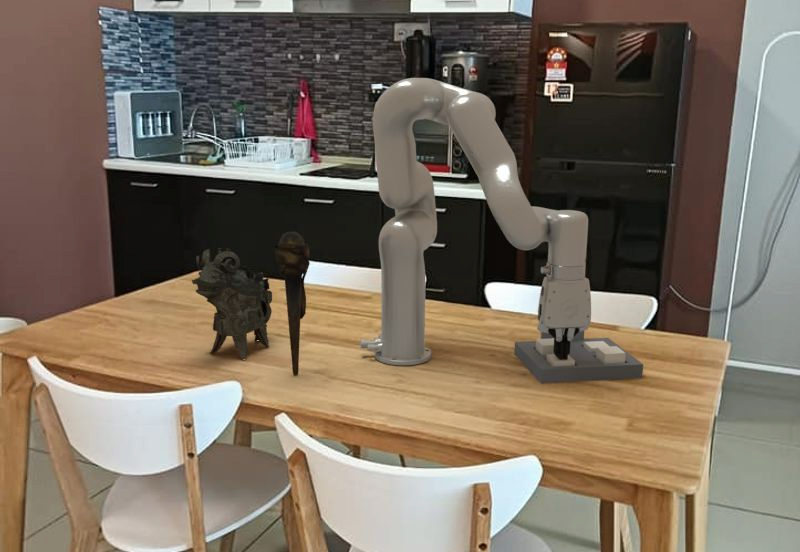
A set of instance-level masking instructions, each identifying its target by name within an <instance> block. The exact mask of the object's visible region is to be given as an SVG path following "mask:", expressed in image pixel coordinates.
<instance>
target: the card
mask: <svg viewBox="0 0 800 552" xmlns="http://www.w3.org/2000/svg"><path fill="white" fill-rule="evenodd" d="M563 331H564V328H563V329H561V332H562V335H563ZM551 338H553V337H552V336H551V335H550V334H549V333H544V332H540V339H551ZM584 339H585V330H584V331H581V332H578V333H577V334H576V335H575V336H574V337H573V340H584Z"/></svg>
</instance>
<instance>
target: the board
mask: <svg viewBox="0 0 800 552" xmlns="http://www.w3.org/2000/svg"><path fill="white" fill-rule="evenodd" d="M593 341H604V342H605V343H606V344H608V345H609V346H617V347H618V348H620V349H621V350H622V351H624V352H625V353H626V355H625V363H616V364H603V363H601V362H600V361H599V360H598V359H597V358H596V353H589V352H588V351H587V350H586V349H585V348H583V345H584V342H593ZM513 349H514V353H513V354H514V356H515V357H516V358H517V360H519V362H520V363H521V364H522V365H523V366H524V367H525V368H526V369H527V370H528V371H529V372H530V373H531V375H533V376H534V377H535V379H536V380H537V381H538V382H539V383H540V384H554V383H571V382H572V383H573V382H574V383H575V382H590V381H591V382H592V381H607V380H608V381H612V380H627V379H628V380H630V379H643V375H644V374H643V373H644V364H643V363H642V362H641V361H639V360H638V359H637V358H636V357H634V355H632V354H631V353H629V352H628V351H627V350H625V349H624V348H622V347H621V346H619V344H617V343H615V341H613V340H612V339H610V338H609V337H594V338H593V337H592V338H591V337H590V338H589V337H588V338H584V340H572V341H570V354H568V355H569V356H570V357H571V358H572V359H574V360H575V366H556V367H552V366H551V365H550V364H549V363H548V362H547V361H546V357H547V355H540V354H539V353H538V352H537V351H536V340H524V341H514V348H513Z"/></svg>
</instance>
